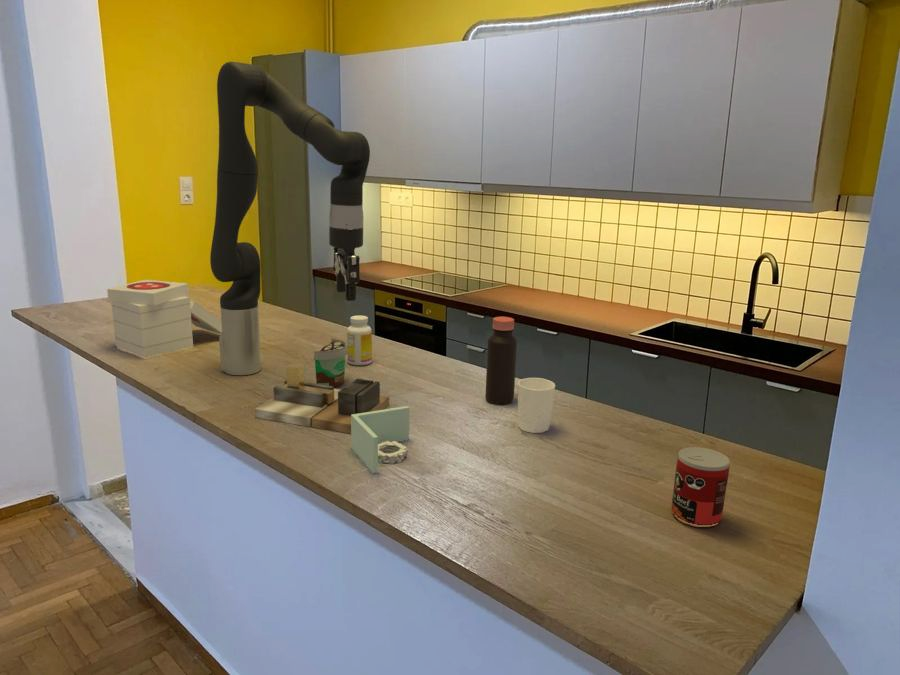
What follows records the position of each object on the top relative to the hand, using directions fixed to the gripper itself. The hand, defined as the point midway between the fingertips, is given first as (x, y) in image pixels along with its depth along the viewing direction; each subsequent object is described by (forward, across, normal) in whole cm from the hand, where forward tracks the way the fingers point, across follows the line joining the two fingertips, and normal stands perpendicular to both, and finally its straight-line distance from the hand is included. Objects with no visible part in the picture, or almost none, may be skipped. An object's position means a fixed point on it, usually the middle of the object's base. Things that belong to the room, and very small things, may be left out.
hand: (345, 295), depth 157 cm
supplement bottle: (+25, -24, +10) cm, 36 cm away
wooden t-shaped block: (+22, +6, -10) cm, 25 cm away
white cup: (+24, +32, +34) cm, 52 cm away
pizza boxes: (+26, -57, -37) cm, 73 cm away
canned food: (+22, +74, +41) cm, 87 cm away
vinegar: (+24, +14, +34) cm, 44 cm away
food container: (+25, -9, 0) cm, 26 cm away
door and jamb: (+24, +8, -7) cm, 27 cm away
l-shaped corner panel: (+24, +34, 0) cm, 42 cm away
